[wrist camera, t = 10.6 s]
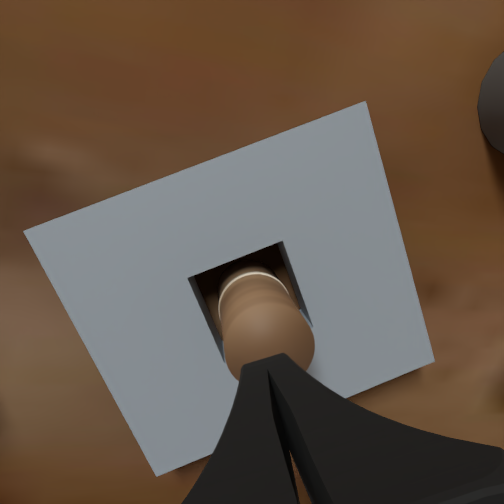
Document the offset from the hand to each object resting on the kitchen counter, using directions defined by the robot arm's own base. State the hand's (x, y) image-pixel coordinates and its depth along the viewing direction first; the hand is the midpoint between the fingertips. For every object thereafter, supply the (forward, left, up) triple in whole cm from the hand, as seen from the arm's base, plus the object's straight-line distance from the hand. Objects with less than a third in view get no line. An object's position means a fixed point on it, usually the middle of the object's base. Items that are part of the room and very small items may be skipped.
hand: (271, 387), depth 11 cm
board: (0, 0, -10) cm, 10 cm away
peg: (-1, 0, -10) cm, 10 cm away
